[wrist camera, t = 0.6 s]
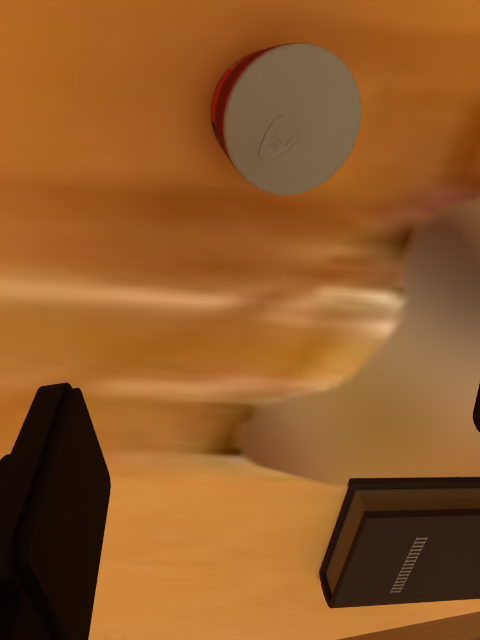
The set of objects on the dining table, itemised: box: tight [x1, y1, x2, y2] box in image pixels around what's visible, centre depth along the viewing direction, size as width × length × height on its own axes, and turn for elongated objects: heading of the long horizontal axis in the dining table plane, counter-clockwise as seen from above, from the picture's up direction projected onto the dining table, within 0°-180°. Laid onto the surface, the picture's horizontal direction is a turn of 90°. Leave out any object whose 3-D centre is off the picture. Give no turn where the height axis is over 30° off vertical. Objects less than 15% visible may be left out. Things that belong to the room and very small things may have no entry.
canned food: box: [211, 43, 361, 195], centre depth 29 cm, size 8×8×11 cm
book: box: [320, 477, 480, 608], centre depth 61 cm, size 28×19×6 cm
